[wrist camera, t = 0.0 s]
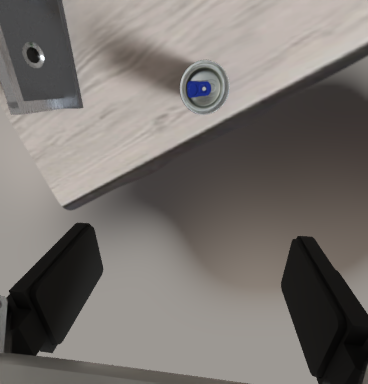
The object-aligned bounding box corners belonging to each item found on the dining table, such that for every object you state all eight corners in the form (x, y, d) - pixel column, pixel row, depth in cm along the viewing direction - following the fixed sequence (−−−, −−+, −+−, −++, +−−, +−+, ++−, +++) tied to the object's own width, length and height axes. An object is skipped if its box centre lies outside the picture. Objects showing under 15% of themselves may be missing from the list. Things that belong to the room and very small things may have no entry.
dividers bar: (-15, -114, 27) (-125, -210, 18) (10, -117, 27) (-90, -217, 18) (45, 108, 38) (-5, 114, 30) (63, 108, 38) (18, 114, 29)
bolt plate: (-44, -102, 29) (-55, -110, 28) (39, -112, 28) (32, -120, 26) (22, 107, 40) (16, 108, 39) (83, 107, 39) (79, 108, 38)
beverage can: (192, 105, 37) (180, 116, 23) (190, 71, 34) (177, 61, 21) (222, 103, 36) (229, 114, 23) (223, 68, 34) (230, 56, 20)
